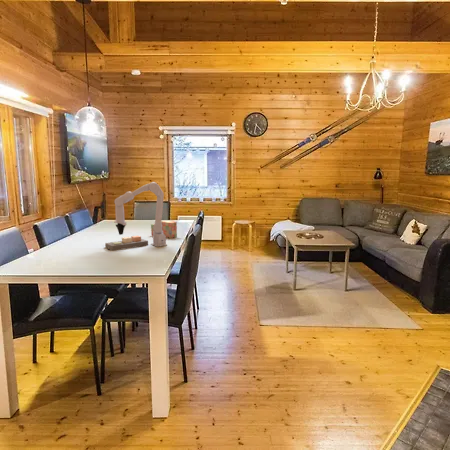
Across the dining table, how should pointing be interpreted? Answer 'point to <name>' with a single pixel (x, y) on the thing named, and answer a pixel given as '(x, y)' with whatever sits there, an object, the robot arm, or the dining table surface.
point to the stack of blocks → (167, 228)
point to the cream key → (126, 239)
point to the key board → (125, 245)
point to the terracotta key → (136, 238)
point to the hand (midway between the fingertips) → (121, 234)
